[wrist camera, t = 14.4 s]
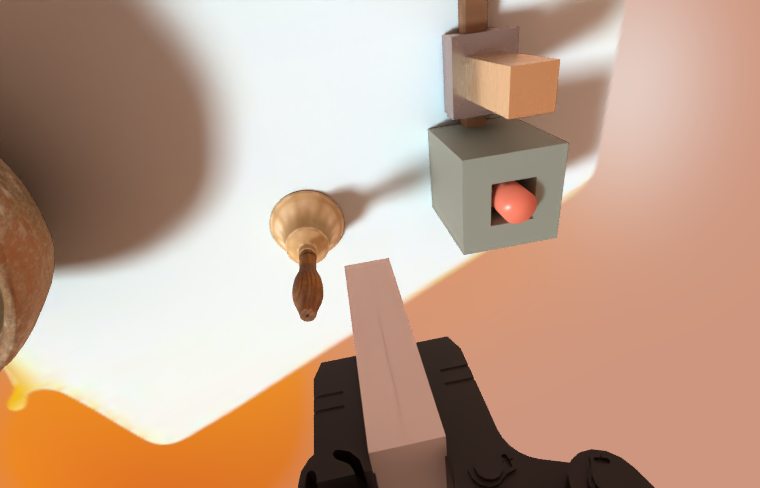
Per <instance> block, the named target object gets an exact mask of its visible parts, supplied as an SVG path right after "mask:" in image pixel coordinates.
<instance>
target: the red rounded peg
mask: <svg viewBox="0 0 760 488" xmlns="http://www.w3.org/2000/svg"><path fill="white" fill-rule="evenodd" d="M491 205H492V206H493V208H494V209H495V210H496V211H497V212H498V213H499V214H500V215H501V216H502V217H503V218H504V219H505V220H506V221H508V222H509V223H512V224H519V223H523V222H525V221H527V220H528V219H529V218H530V217H531V216H532V215H533V214H534V212H535V210H536V207H537V200H536V198H535V196H534V195H533V194H532V193H531V192H529V191H528V190H527V189H525V188H524V187H523V186H522V185H520V184H519V183H518V182H516V181H509V182H503V183H497V184H492V191H491Z"/></svg>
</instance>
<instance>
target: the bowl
mask: <svg viewBox="0 0 760 488" xmlns="http://www.w3.org/2000/svg"><path fill="white" fill-rule="evenodd" d="M53 272H54V247H53V241H52V238H51V235H50V232H49V230H48V227H47V225H46V222H45V220H44V218H43V216H42V214H41V212H40V210H39V209H38V207H37V205H36V203H35V201H34V200H33V198H32V196H31V195H30V193H29V191H28V190H27V188H26V186H25V185H24V184H23V183H22V181H21V180H20V179H19V178H18V176H17V175H16V174H15V173H14V171H13V170H12V169H11V168H10V167H9V166H8V165H7V164H6V163H5V162H4V161H3V160H2V159H1V158H0V371H1V370H2V369H3V368H4V367H5V366H6V365H7V364H9V363H10V362H11V361H12V360H13V358H14V357H15V356H16V354H17V353H18V352H19V350H20V349H21V348H22V346H23V345H24V344H25V342H26V340H27V339H28V337H29V335H30V334H31V332H32V330H33V328H34V326H35V324H36V322H37V319H38V317H39V315H40V312H41V310H42V308H43V305H44V303H45V300H46V298H47V295H48V292H49V289H50V286H51V283H52V278H53Z"/></svg>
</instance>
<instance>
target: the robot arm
mask: <svg viewBox="0 0 760 488" xmlns="http://www.w3.org/2000/svg"><path fill="white" fill-rule="evenodd" d="M345 274H346V281H347V289H348V297H349V305H350V313H351V321H352V328H353V336H354V344H355V352H356V356H353V357H349V358H343V359H338V360H333V361H328V362H324V363H321V365H320V367H319V370H318V372H317V374H316V376H315V378H314V455H313V456H312V457H311V458H310V459H309V460H308V461H307V463H306V465H305V466H304V468H303V470H302V471H301V475H300V479H299V484H298V488H654V487H653V486H652V485H651V484H650V483H649V482H648V481H647V480H646V479H645V478H644V477H643V476H642V475H641V474H640V473H639V472H638V471H637V470H636V469H635V468H634V467H633V466H631V465H630V464H629V463H627V462H626V461H625V460H624V459H622V458H620V457H618V456H616V455H614V454H612V453H609V452H607V451H601V450H592V449H591V450H587V451H584V452H580V453H578V454H577V455H576V456H575V457H574V458H573V459H572V460H571V462H570V463H567V462H559V461H551V460H542V459H537V458H532V457H529V456H526V455H524V454H522V453H520V452H518V451H517V450H515V449H514V448H512V447H511V446H509V444H508V443H507V442H506V441H505V440H504V439H503V438H502V437H501V435H500V433H499V432H498V430H497V428H496V426H495V424H494V421H493V419H492V417H491V415H490V412H489V410H488V408H487V406H486V404H485V401H484V399H483V397H482V395H481V392H480V390H479V388H478V386H477V384H476V381H475V380H474V378H473V375H472V373H471V370H470V368H469V367H468V364H467V362H466V360H465V357H464V355H463V353H462V351H461V348H459V347H458V346H457V345H456V344H455V343H454V342H453V341H452V340H451V339H449V338H448V337H442V338H438V339H432V340H427V341H422V342H417V343H416V342H415V339H414V336H413V333H412V329H411V326H410V323H409V320H408V317H407V314H406V311H405V308H404V304H403V301H402V298H401V295H400V292H399V289H398V286H397V283H396V279H395V276H394V273H393V270H392V267H391V264H390V261H389V258H386V259H381V260H375V261H370V262H364V263H359V264H354V265H348V266H345Z"/></svg>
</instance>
